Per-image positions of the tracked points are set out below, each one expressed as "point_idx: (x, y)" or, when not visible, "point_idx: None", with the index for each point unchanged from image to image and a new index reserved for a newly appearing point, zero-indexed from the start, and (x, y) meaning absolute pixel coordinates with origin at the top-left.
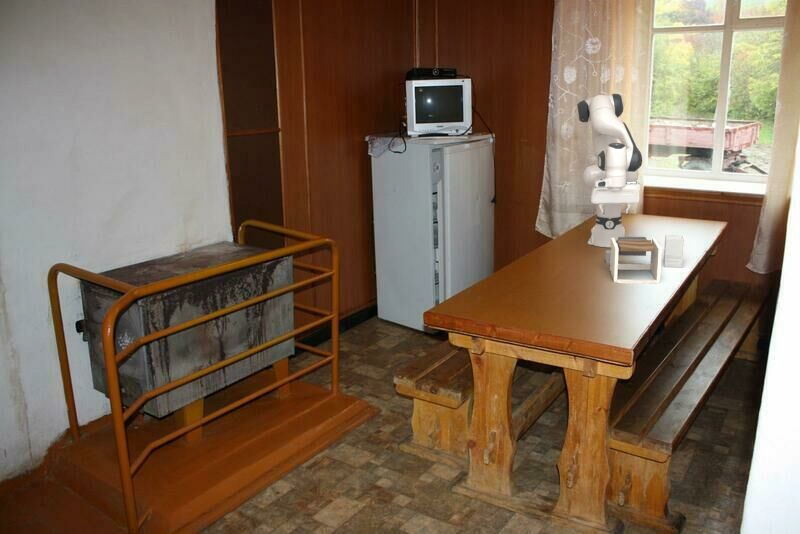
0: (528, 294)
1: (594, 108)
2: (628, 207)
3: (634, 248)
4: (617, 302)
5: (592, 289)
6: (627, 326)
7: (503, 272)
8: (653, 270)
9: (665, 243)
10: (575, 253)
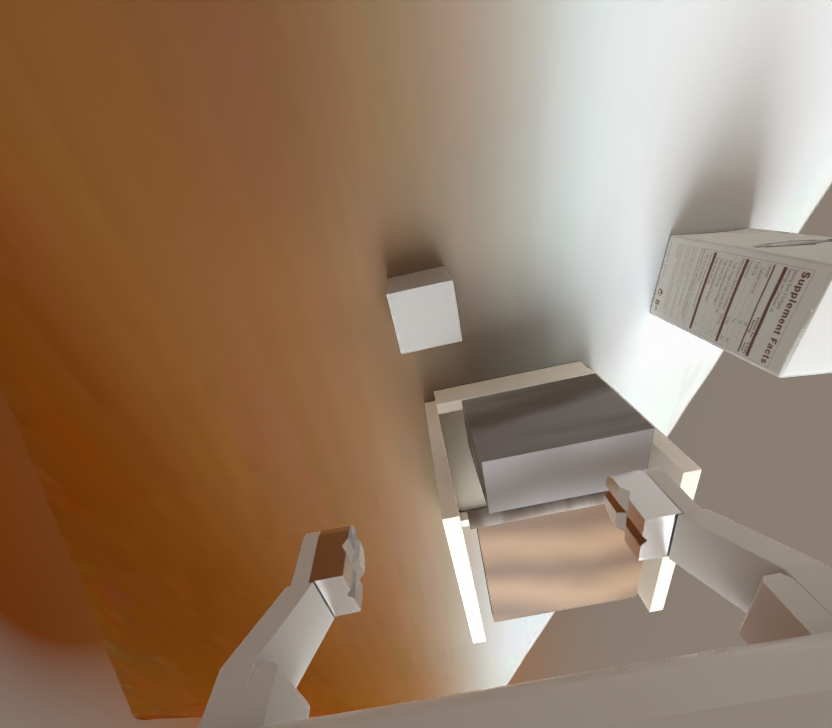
0: None
1: None
2: (733, 591)
3: (551, 609)
4: None
5: (399, 570)
6: (486, 675)
7: (66, 523)
8: None
9: (749, 362)
10: (175, 149)
